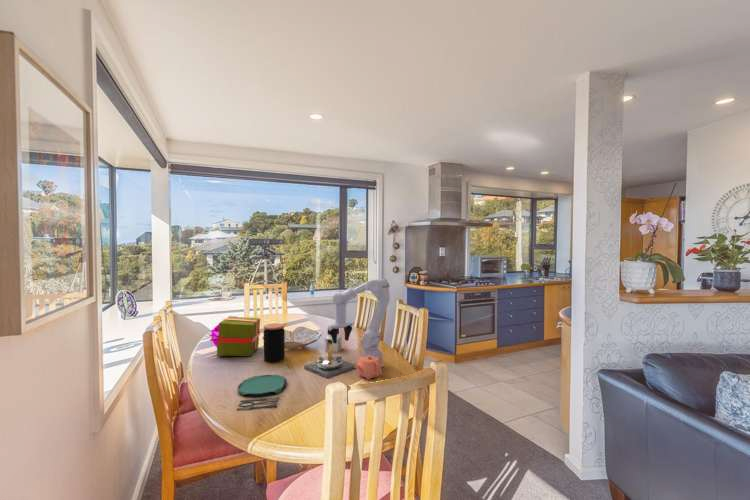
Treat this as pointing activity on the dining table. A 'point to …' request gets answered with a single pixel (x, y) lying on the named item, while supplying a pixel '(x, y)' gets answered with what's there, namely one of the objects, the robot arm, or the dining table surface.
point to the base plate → (329, 372)
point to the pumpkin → (369, 367)
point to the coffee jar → (274, 342)
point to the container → (330, 341)
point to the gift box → (236, 336)
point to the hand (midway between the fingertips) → (340, 341)
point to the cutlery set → (261, 389)
